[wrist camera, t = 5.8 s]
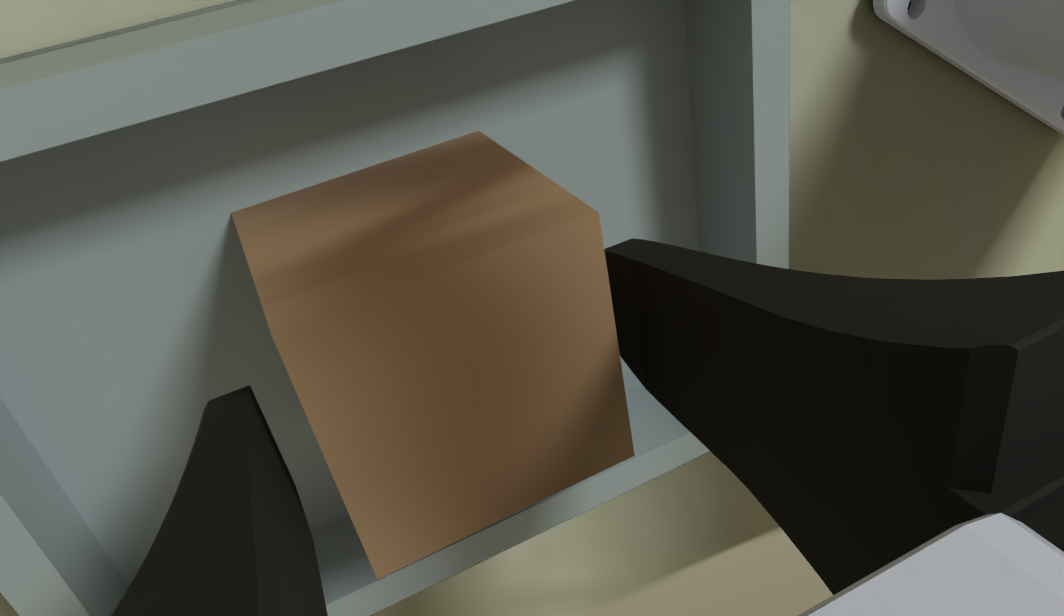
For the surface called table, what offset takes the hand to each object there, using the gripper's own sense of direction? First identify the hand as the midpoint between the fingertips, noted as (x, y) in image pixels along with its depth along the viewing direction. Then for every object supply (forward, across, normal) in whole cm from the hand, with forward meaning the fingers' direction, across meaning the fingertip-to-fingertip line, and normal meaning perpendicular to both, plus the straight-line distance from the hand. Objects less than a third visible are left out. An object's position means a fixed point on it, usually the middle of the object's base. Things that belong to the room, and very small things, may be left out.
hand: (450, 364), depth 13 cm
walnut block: (+3, 0, 0) cm, 3 cm away
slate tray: (+3, 0, 0) cm, 3 cm away
